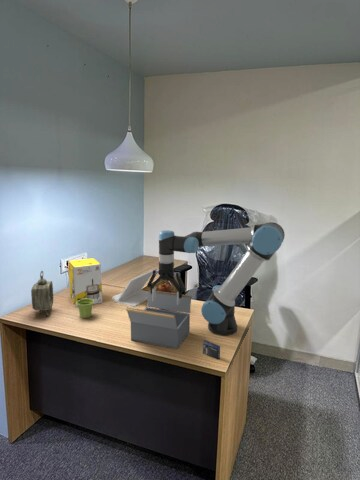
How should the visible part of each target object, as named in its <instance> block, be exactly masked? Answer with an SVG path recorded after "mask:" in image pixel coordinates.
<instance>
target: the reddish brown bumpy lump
mask: <svg viewBox="0 0 360 480" xmlns="http://www.w3.org/2000/svg"><path fill="white" fill-rule="evenodd" d="M155 287H156V291H160V292H168V293H172V291H171V288H170V285H169V284H166V283H162V284H159V285H158V286H155Z"/></svg>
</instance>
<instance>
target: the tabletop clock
mask: <svg viewBox="0 0 360 480" xmlns="http://www.w3.org/2000/svg"><path fill="white" fill-rule="evenodd" d="M39 276H40V277H39V279H38V280H37V282H35V283H34V284H33V285H32V287H31V290H30V291H31V293H30V294H31V304H32V309H33V310H35V311H38V314H42V312H43V311H44V312H45V317H49V315H50V314H49V313H48V311H47V310H52V308H53V305H54V286H53V281H51V280H47V279H46V278H44V271H43V270H41V271H40V274H39Z"/></svg>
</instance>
